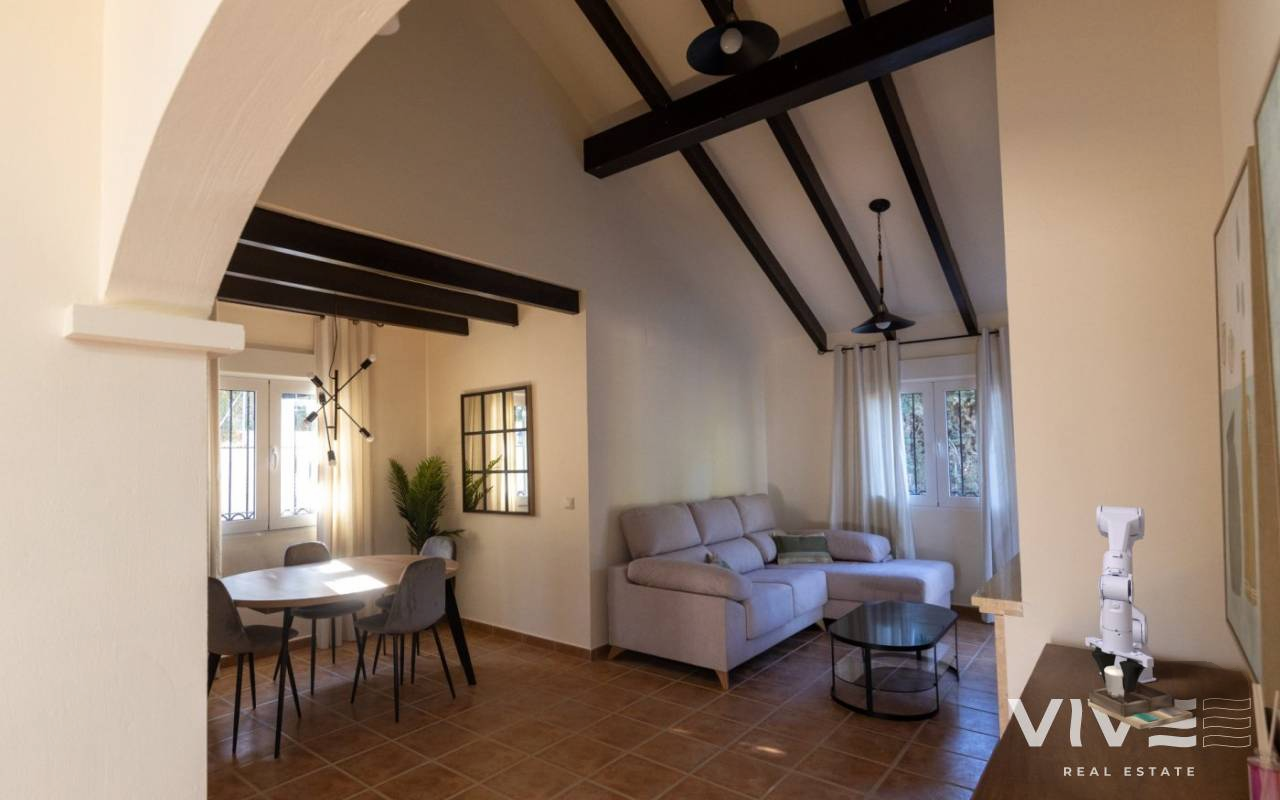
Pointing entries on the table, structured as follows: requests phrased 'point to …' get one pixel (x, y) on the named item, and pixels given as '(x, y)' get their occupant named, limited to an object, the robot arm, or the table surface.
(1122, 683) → the milkshake
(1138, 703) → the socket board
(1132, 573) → the robot arm
